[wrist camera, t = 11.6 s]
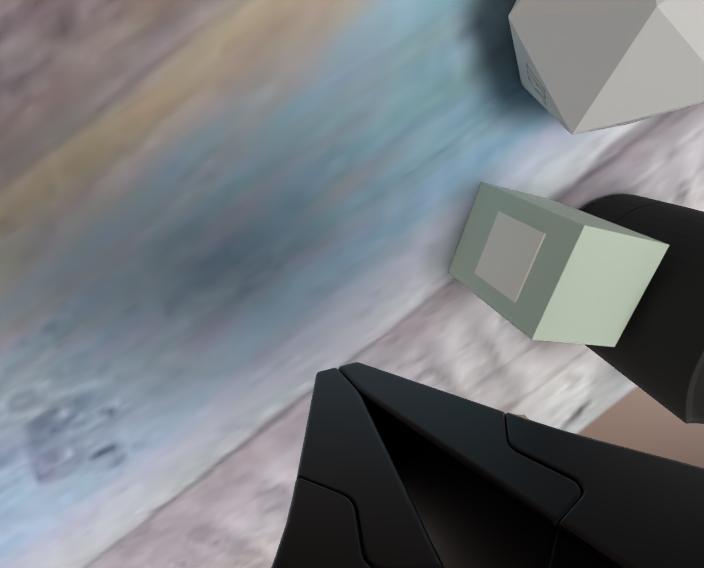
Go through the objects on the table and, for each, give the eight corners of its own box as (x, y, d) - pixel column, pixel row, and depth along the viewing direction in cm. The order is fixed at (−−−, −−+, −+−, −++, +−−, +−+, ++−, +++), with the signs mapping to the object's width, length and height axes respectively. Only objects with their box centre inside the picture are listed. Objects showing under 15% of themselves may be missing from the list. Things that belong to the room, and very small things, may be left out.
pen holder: (553, 353, 31) (697, 468, 22) (510, 249, 26) (673, 344, 17) (667, 272, 31) (852, 354, 22) (646, 152, 26) (874, 199, 17)
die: (428, 51, 20) (586, 204, 17) (558, -222, 14) (855, -65, 11) (531, 52, 25) (671, 172, 22) (664, -152, 19) (893, -28, 15)
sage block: (446, 271, 25) (529, 339, 19) (479, 181, 23) (582, 225, 17) (518, 282, 27) (614, 346, 21) (554, 200, 25) (669, 245, 19)
